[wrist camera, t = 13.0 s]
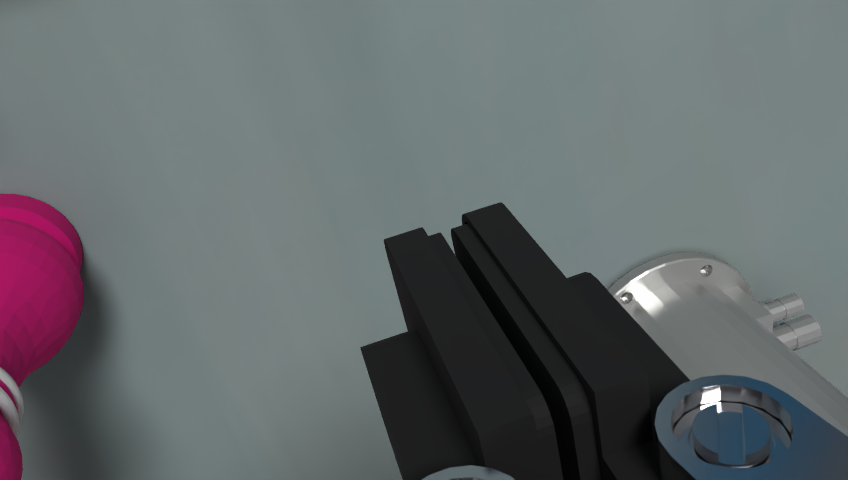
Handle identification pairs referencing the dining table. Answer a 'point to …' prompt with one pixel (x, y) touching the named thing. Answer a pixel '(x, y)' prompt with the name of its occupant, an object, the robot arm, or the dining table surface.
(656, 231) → the dining table surface
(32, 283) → the pepper mill
